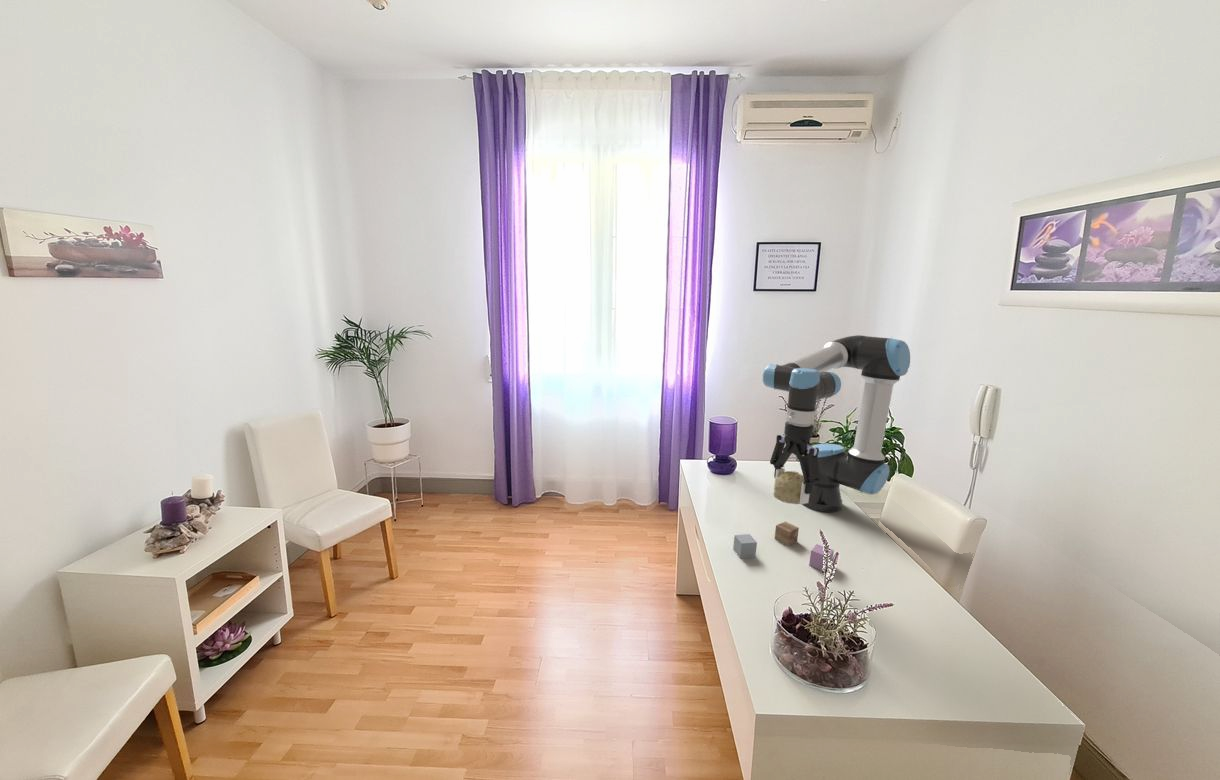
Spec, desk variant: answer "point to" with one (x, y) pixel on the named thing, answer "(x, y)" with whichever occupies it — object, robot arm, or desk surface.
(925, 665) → the desk surface
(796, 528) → the walnut cube
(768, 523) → the desk surface
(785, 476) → the decorative object
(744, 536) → the slate cube
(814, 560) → the plum cube
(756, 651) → the desk surface
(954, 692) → the desk surface
